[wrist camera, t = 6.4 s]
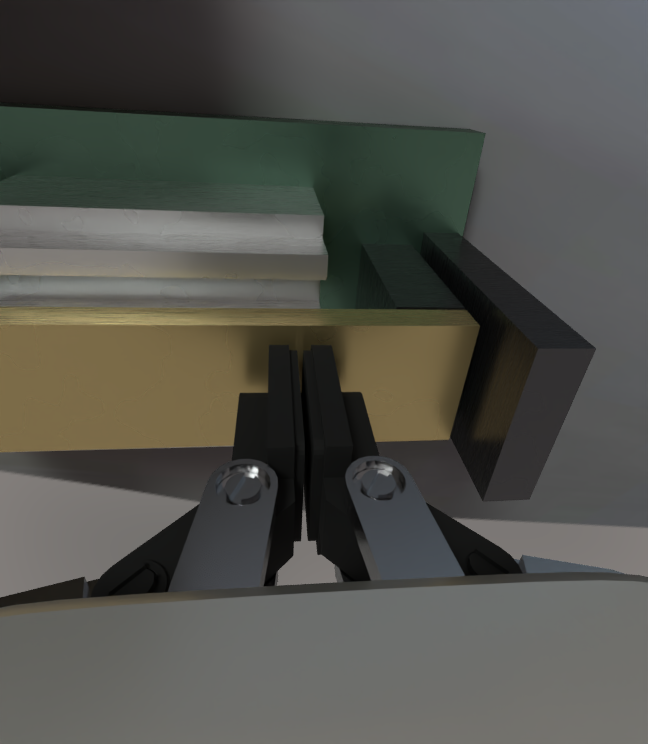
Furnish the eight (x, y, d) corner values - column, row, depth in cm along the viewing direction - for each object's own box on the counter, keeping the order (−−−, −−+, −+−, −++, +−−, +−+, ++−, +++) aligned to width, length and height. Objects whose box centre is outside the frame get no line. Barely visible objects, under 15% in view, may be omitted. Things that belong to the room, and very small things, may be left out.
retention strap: (462, 305, 13) (484, 331, 12) (436, 413, 15) (452, 446, 14) (-283, 299, 11) (-360, 330, 10) (-190, 426, 13) (-242, 466, 12)
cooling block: (469, 129, 17) (678, 184, 8) (416, 388, 24) (502, 571, 15) (-182, 92, 15) (-857, 117, 6) (-41, 393, 21) (-260, 618, 12)
